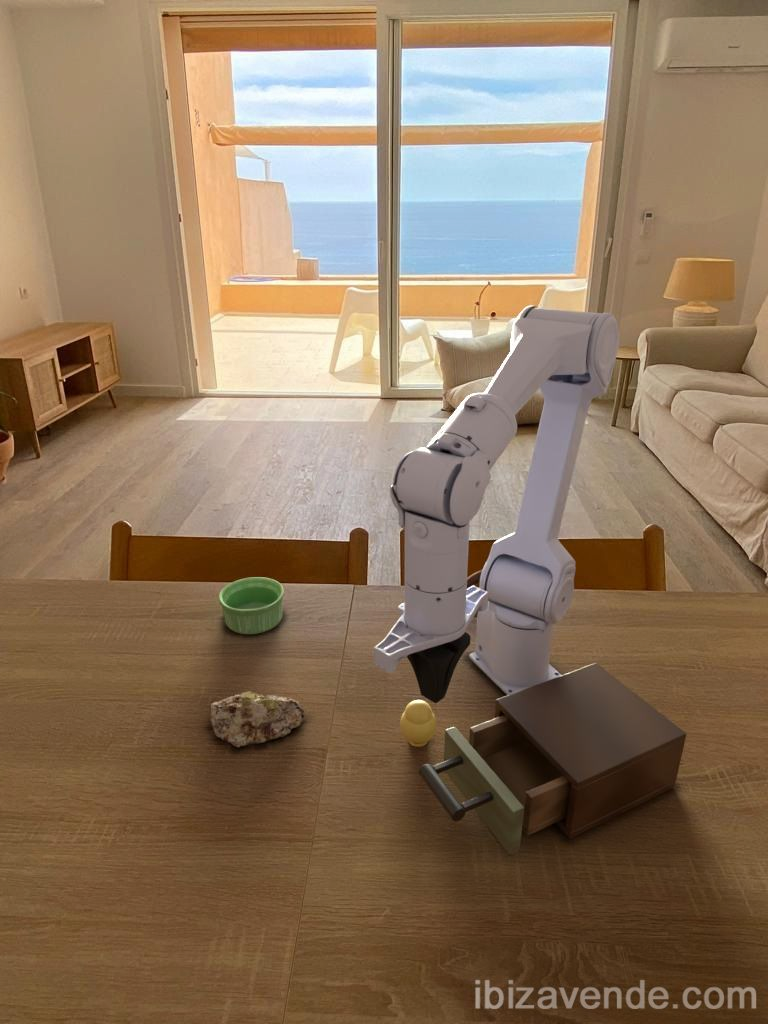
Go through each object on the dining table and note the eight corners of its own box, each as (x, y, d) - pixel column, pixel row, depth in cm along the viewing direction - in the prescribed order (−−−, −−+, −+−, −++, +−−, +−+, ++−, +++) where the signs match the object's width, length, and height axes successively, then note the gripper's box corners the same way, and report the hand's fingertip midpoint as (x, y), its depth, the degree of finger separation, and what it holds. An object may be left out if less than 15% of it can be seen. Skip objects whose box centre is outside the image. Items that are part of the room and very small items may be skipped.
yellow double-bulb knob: (393, 734, 77) (393, 697, 75) (424, 722, 79) (425, 687, 77) (410, 757, 74) (411, 720, 72) (443, 745, 76) (444, 708, 74)
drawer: (466, 875, 60) (469, 832, 58) (404, 785, 70) (404, 744, 67) (614, 804, 67) (622, 762, 65) (540, 730, 77) (544, 692, 74)
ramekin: (263, 595, 104) (260, 570, 103) (298, 620, 98) (296, 593, 96) (210, 618, 99) (206, 592, 97) (244, 645, 93) (241, 618, 91)
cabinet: (569, 839, 65) (577, 782, 62) (491, 751, 75) (495, 699, 72) (674, 787, 70) (687, 733, 67) (588, 712, 80) (596, 662, 78)
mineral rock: (200, 738, 74) (212, 675, 80) (205, 759, 77) (217, 697, 83) (302, 737, 74) (306, 675, 80) (303, 759, 77) (307, 697, 83)
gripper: (451, 537, 71) (447, 647, 76) (348, 592, 61) (352, 713, 67) (509, 560, 66) (500, 675, 72) (407, 623, 57) (406, 749, 62)
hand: (432, 695), depth 69 cm, fingers closed
